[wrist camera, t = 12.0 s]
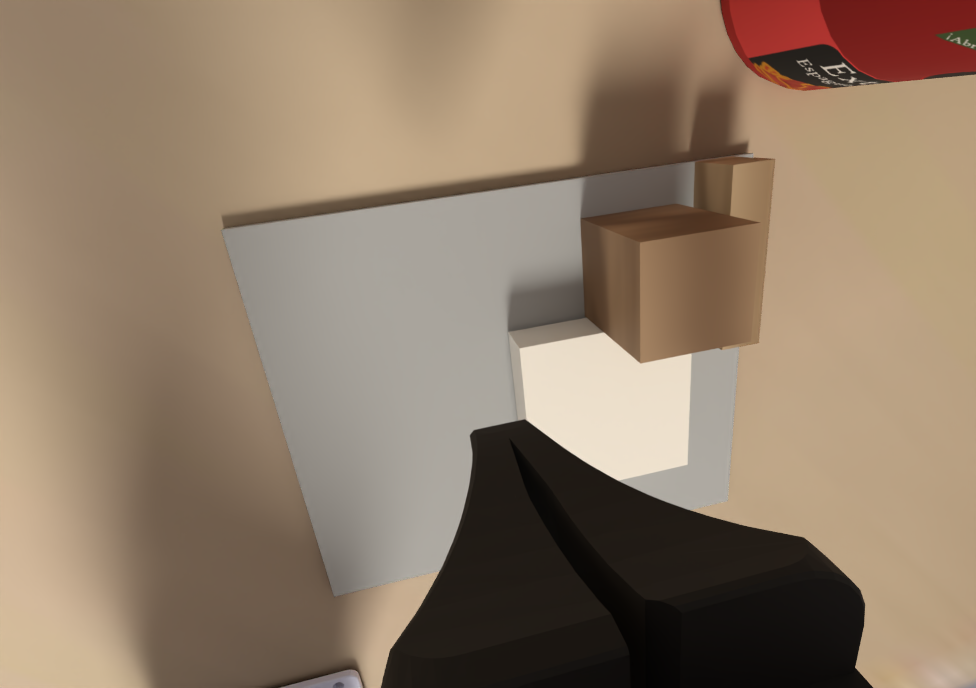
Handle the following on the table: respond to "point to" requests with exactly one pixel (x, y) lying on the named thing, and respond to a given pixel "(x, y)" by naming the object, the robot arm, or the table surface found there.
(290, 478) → the table surface
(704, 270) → the block
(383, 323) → the mat
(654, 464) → the tile
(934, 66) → the canned food
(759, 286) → the rail
